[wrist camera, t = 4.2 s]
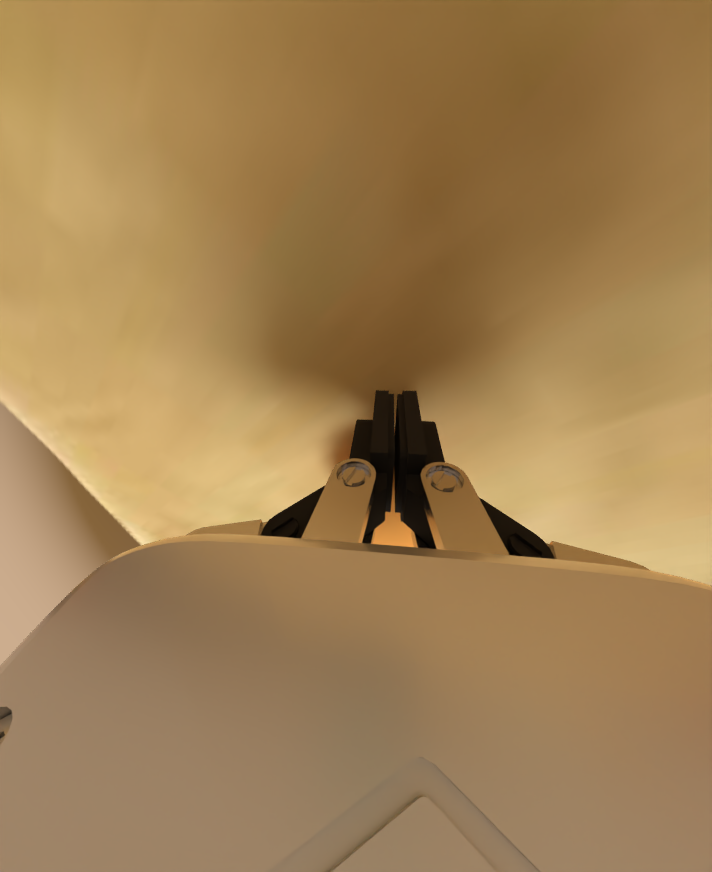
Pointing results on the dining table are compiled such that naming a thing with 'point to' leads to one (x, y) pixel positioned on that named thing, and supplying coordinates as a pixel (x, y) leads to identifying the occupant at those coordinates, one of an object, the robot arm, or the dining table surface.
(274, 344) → the dining table surface
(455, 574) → the robot arm
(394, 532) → the ball
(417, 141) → the dining table surface
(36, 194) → the dining table surface
